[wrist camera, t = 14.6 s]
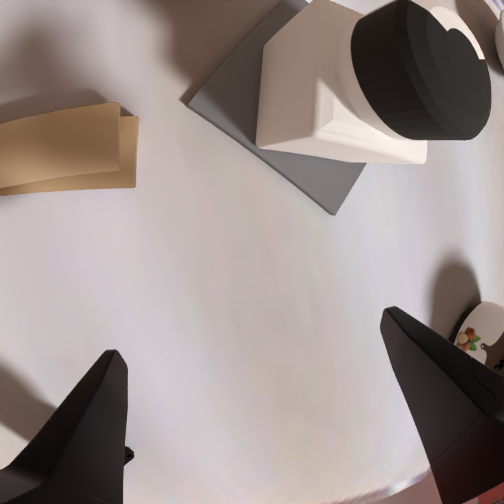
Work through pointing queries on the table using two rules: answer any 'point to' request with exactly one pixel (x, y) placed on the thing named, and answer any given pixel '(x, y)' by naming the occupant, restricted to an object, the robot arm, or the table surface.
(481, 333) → the spread jar
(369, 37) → the medicine bottle
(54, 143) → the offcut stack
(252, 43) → the rubber mat
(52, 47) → the table surface
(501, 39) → the dish
